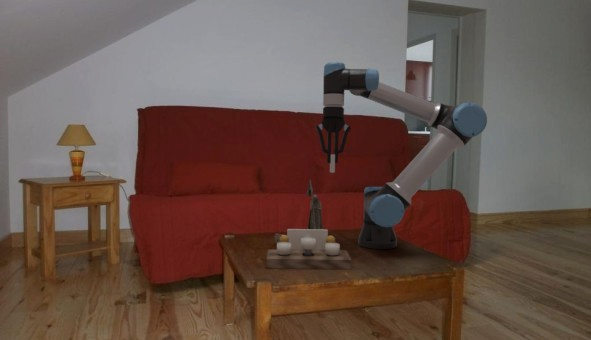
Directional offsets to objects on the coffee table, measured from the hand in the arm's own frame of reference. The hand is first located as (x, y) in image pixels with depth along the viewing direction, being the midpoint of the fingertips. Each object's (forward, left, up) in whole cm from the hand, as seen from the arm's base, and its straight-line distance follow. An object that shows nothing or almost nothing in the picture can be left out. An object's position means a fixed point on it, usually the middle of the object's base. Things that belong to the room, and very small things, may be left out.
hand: (332, 172), depth 155 cm
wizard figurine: (+5, -22, -30) cm, 37 cm away
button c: (+17, +15, -29) cm, 37 cm away
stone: (+16, -8, -30) cm, 35 cm away
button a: (+1, +15, -29) cm, 32 cm away
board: (+9, +15, -29) cm, 34 cm away
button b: (+9, +15, -27) cm, 32 cm away
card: (+9, +8, -29) cm, 32 cm away
